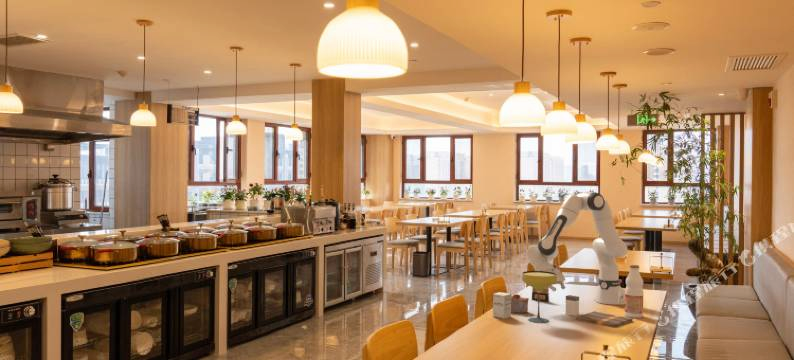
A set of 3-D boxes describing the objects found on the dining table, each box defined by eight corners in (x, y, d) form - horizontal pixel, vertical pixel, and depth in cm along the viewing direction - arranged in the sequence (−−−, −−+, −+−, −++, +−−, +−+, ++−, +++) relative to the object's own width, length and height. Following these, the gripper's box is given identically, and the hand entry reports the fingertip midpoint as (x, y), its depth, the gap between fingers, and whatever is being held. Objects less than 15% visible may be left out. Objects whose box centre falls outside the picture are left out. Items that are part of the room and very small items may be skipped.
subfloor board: (594, 313, 346) (594, 311, 346) (632, 321, 330) (632, 318, 330) (575, 319, 332) (575, 316, 332) (614, 327, 316) (614, 324, 316)
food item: (529, 311, 350) (530, 294, 350) (526, 314, 343) (526, 296, 343) (506, 309, 356) (506, 292, 356) (502, 311, 349) (502, 294, 349)
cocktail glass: (536, 326, 317) (537, 277, 317) (514, 318, 333) (514, 272, 333) (563, 322, 325) (564, 275, 325) (540, 315, 341) (541, 269, 341)
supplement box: (492, 316, 337) (492, 293, 336) (499, 314, 342) (500, 291, 342) (503, 319, 332) (504, 295, 331) (511, 316, 337) (511, 293, 337)
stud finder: (569, 312, 349) (569, 295, 348) (578, 314, 344) (579, 296, 344) (565, 313, 346) (565, 295, 346) (575, 315, 341) (575, 297, 341)
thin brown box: (549, 301, 377) (549, 282, 377) (547, 302, 376) (548, 282, 376) (532, 299, 384) (533, 280, 384) (531, 299, 382) (531, 280, 382)
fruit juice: (632, 318, 336) (633, 267, 336) (621, 314, 345) (621, 264, 344) (646, 317, 339) (647, 266, 339) (634, 313, 348) (635, 263, 348)
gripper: (538, 268, 349) (553, 288, 342) (558, 265, 363) (572, 284, 356) (531, 275, 352) (545, 295, 345) (551, 271, 366) (565, 290, 359)
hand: (559, 289), depth 351 cm, fingers open, 8 cm apart
